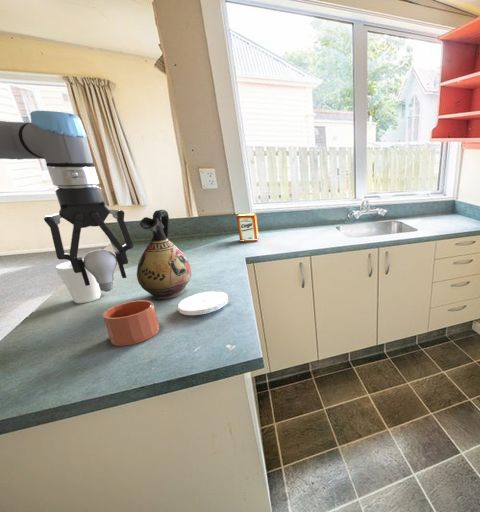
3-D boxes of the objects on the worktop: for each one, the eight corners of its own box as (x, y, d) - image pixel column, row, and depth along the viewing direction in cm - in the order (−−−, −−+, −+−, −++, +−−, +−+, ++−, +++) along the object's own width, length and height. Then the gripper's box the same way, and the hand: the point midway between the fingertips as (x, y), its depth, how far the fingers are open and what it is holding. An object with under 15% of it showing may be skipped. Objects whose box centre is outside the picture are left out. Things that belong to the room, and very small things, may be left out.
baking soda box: (240, 242, 173) (236, 215, 168) (242, 239, 179) (238, 213, 174) (257, 241, 176) (254, 214, 171) (259, 238, 182) (255, 212, 177)
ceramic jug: (183, 302, 100) (164, 215, 91) (132, 305, 98) (108, 215, 89) (203, 282, 116) (189, 206, 107) (160, 284, 114) (142, 207, 105)
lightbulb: (119, 285, 79) (110, 245, 76) (126, 290, 76) (117, 249, 73) (88, 291, 74) (77, 249, 71) (94, 298, 71) (83, 254, 68)
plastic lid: (235, 307, 98) (234, 300, 97) (187, 323, 88) (185, 315, 87) (219, 294, 107) (217, 288, 106) (173, 307, 97) (172, 300, 96)
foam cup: (103, 301, 100) (92, 265, 96) (65, 308, 95) (51, 270, 91) (108, 291, 108) (97, 257, 104) (72, 297, 103) (60, 261, 99)
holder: (100, 346, 77) (91, 318, 74) (131, 324, 86) (124, 300, 84) (141, 345, 77) (133, 318, 74) (167, 324, 87) (162, 300, 84)
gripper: (10, 190, 58) (50, 296, 65) (133, 185, 71) (155, 274, 79) (14, 187, 63) (51, 286, 70) (129, 183, 76) (150, 267, 83)
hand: (106, 279), depth 74 cm, fingers closed on lightbulb, 6 cm apart
